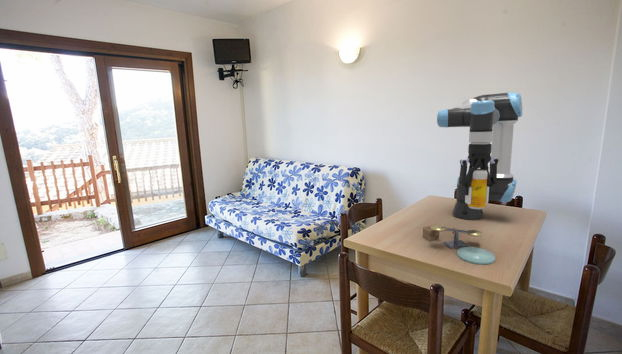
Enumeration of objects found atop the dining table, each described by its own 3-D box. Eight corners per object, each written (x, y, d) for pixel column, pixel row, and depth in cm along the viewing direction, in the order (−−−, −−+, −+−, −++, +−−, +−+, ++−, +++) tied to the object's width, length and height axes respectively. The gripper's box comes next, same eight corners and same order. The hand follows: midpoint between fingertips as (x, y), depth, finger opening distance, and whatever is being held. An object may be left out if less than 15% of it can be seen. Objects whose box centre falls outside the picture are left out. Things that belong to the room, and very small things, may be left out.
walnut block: (431, 235, 138) (431, 225, 137) (439, 239, 133) (439, 229, 132) (422, 237, 137) (422, 227, 136) (429, 241, 132) (430, 231, 131)
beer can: (463, 205, 116) (465, 168, 114) (478, 204, 117) (480, 167, 114) (473, 210, 110) (475, 171, 108) (488, 209, 111) (491, 170, 108)
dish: (481, 248, 122) (481, 245, 122) (502, 263, 109) (503, 260, 109) (451, 250, 122) (451, 247, 121) (468, 265, 109) (469, 262, 109)
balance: (475, 240, 130) (476, 221, 128) (485, 246, 124) (486, 226, 122) (427, 243, 129) (427, 224, 128) (434, 250, 123) (434, 230, 121)
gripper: (498, 141, 113) (494, 199, 117) (449, 143, 113) (447, 201, 117) (512, 142, 106) (507, 204, 110) (460, 144, 105) (457, 206, 109)
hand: (476, 202), depth 113 cm, fingers closed on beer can, 6 cm apart
